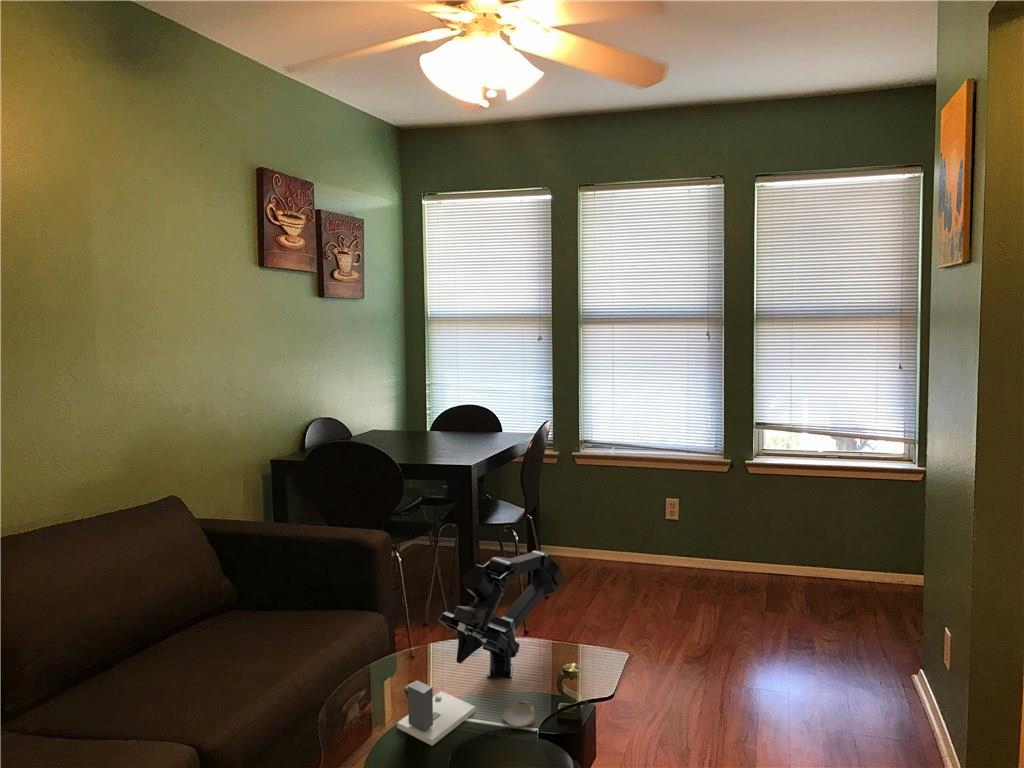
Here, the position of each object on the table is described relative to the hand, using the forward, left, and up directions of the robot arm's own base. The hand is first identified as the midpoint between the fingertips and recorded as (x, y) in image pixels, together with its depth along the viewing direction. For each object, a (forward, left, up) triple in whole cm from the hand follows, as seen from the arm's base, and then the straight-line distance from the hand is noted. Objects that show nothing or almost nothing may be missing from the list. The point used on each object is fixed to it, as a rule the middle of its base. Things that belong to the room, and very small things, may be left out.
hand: (458, 662), depth 202 cm
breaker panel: (+7, -4, -11) cm, 14 cm away
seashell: (+5, +16, -12) cm, 20 cm away
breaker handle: (+12, -7, -9) cm, 17 cm away
